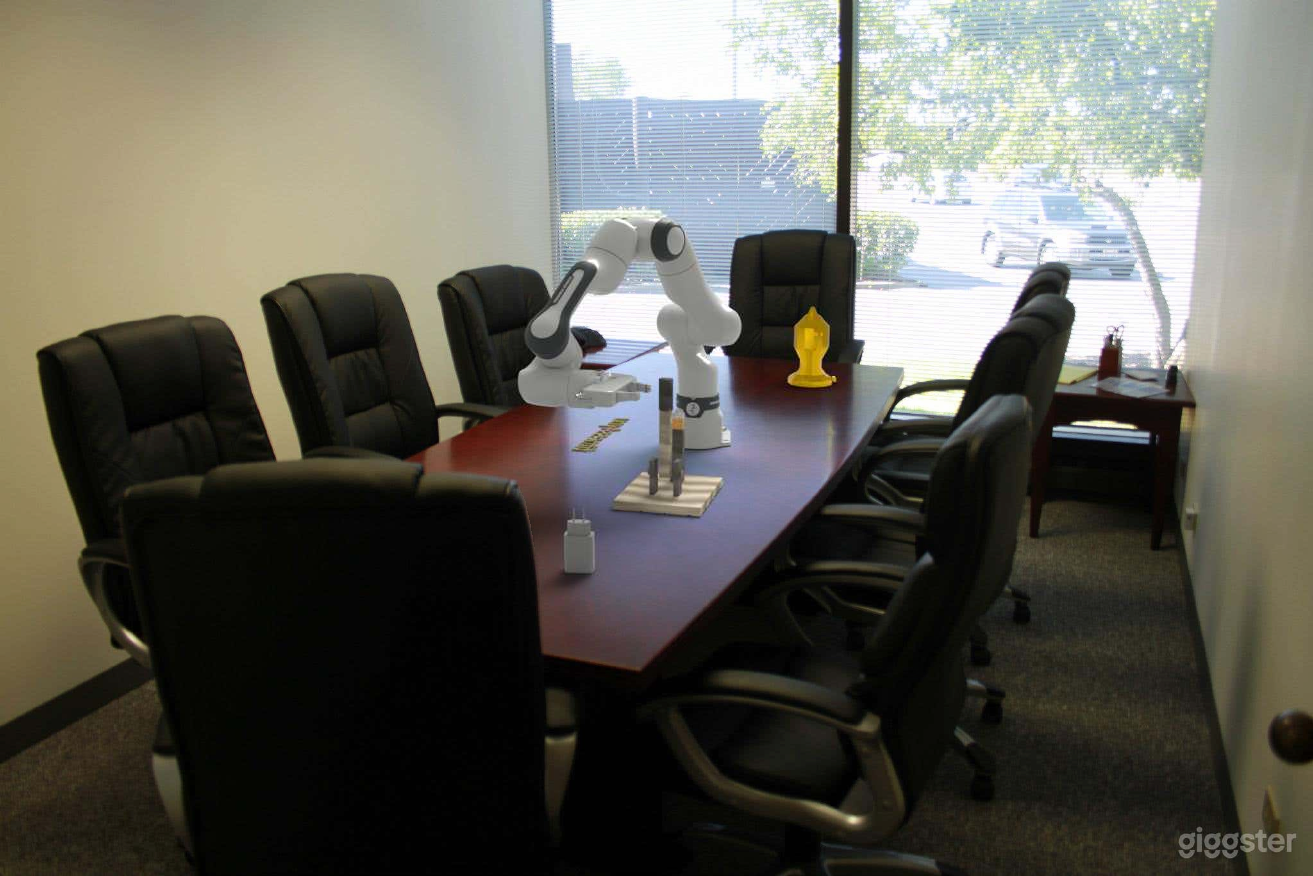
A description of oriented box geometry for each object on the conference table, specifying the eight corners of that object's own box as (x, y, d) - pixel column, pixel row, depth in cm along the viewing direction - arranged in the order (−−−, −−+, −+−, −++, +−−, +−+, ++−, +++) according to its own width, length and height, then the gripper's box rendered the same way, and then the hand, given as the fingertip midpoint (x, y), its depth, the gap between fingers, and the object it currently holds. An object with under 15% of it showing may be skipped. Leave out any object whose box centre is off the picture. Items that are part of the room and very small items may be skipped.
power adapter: (567, 566, 185) (565, 505, 182) (595, 567, 185) (594, 506, 182) (564, 572, 182) (562, 511, 179) (592, 573, 182) (591, 512, 179)
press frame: (642, 479, 241) (642, 415, 237) (722, 485, 236) (723, 420, 232) (613, 509, 219) (612, 438, 215) (700, 516, 213) (701, 444, 210)
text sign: (565, 452, 268) (592, 453, 266) (565, 449, 268) (592, 451, 266) (610, 420, 305) (634, 421, 303) (610, 417, 305) (634, 418, 303)
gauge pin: (671, 419, 235) (671, 409, 234) (692, 420, 233) (692, 410, 233) (661, 428, 226) (661, 418, 225) (682, 429, 225) (682, 419, 224)
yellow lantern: (831, 376, 374) (834, 303, 367) (839, 389, 350) (843, 310, 344) (785, 376, 375) (787, 303, 368) (790, 388, 351) (793, 310, 344)
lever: (660, 474, 224) (660, 377, 219) (674, 475, 223) (674, 377, 218) (656, 478, 221) (657, 379, 216) (670, 479, 220) (671, 380, 215)
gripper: (570, 383, 212) (631, 387, 208) (600, 368, 231) (656, 370, 227) (571, 412, 213) (632, 416, 210) (600, 394, 232) (656, 397, 229)
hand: (645, 392), depth 219 cm, fingers open, 8 cm apart
